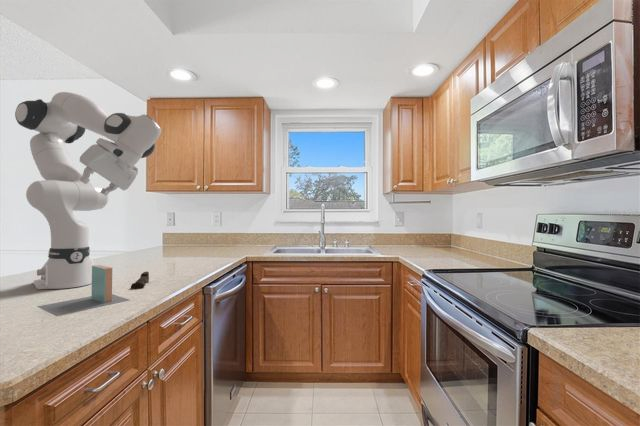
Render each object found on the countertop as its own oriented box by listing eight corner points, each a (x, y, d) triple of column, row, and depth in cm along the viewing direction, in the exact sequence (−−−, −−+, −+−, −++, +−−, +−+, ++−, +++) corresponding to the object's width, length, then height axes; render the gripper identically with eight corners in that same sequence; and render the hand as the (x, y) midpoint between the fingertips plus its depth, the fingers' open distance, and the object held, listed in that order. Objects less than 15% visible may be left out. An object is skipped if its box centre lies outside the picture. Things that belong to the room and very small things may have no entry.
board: (37, 311, 88) (37, 306, 88) (108, 297, 103) (108, 292, 103) (57, 321, 80) (57, 316, 80) (130, 304, 96) (130, 300, 96)
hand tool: (143, 293, 110) (143, 280, 110) (130, 294, 109) (130, 280, 109) (154, 281, 128) (154, 270, 128) (143, 282, 127) (143, 270, 127)
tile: (91, 298, 96) (91, 265, 96) (99, 297, 98) (99, 265, 98) (104, 302, 92) (104, 268, 92) (111, 301, 94) (112, 267, 94)
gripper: (133, 166, 116) (107, 196, 113) (95, 135, 97) (61, 169, 93) (146, 174, 115) (119, 204, 111) (110, 144, 96) (76, 179, 92)
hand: (93, 188), depth 102 cm, fingers open, 8 cm apart
